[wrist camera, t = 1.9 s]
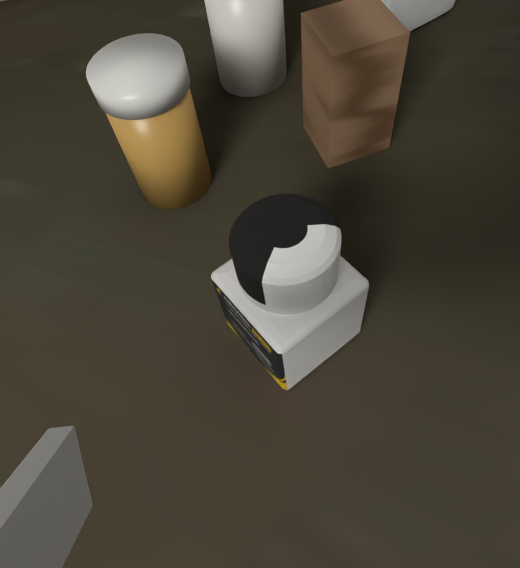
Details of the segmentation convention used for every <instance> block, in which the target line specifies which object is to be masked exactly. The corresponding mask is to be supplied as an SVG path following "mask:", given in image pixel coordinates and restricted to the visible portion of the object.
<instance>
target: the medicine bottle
mask: <svg viewBox="0 0 520 568" xmlns="http://www.w3.org/2000/svg"><path fill="white" fill-rule="evenodd" d="M229 249H230V252H231V256H232V259H231V260H229V261H228V262H226V263H225V264H224V265H222V266H221V267H219V268H218V269H216V270H215V271H213V273H212V275H211V278H212V281H213V284H214V287H215V290H216V293H217V295H218V298H219V301H220V304H221V307H222V310H223V312H224V315H225V318H226V321H227V323H228V325H229V326H230V327H231V328H232V330H233V331H234V332H235V333H236V334H237V335H238V337H239V338H240V339H241V340H242V341H243V342H244V344H245V345H246V346H247V347H248V348H249V350H250V351H251V352H252V353H253V354H254V355H255V357H256V358H257V359H258V360H259V361H260V362H261V364H262V365H263V366H264V367H265V368H266V370H267V371H268V372H269V373H270V374H271V375H272V377H273V378H274V379H275V380H276V381H277V382H278V384H279V385H280V386H281V387H282V388H283V389H284V390H289V389H290V388H292V387H293V386H294V385H295V384H296V383H298V382H299V381H300V380H301V379H303V378H304V377H305V376H306V375H308V374H309V373H310V372H311V371H312V370H314V369H315V368H316V367H317V366H319V365H320V364H321V363H322V362H324V361H325V360H326V359H327V358H328V357H330V356H331V355H332V354H333V353H335V352H336V351H337V350H338V349H340V348H341V347H342V346H343V345H344V344H346V343H347V342H348V341H349V340H351V339H352V338H353V337H354V336H356V335H357V334H358V333H359V332H360V329H361V324H362V318H363V313H364V308H365V303H366V298H367V293H368V288H369V282H368V280H367V279H366V278H365V277H364V276H362V275H361V274H360V273H359V272H358V271H357V270H356V269H355V268H354V267H352V266H351V265H350V264H349V263H348V262H347V261H346V260H345V259H344V258H342V257H341V256H340V250H341V230H340V227H339V224H338V222H337V220H336V218H335V216H334V215H333V214H332V212H331V211H330V210H329V209H328V208H326V207H325V206H324V205H322V204H321V203H319V202H317V201H316V200H313V199H311V198H308V197H305V196H302V195H296V194H278V195H272V196H269V197H266V198H263V199H261V200H259V201H257V202H255V203H253V204H252V205H250V206H249V207H247V208H246V209H245V210H244V211H243V212H242V213H241V214H240V215H239V216H238V217H237V219H236V220H235V222H234V224H233V226H232V228H231V231H230V235H229Z"/></svg>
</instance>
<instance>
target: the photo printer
mask: <svg viewBox="0 0 520 568" xmlns="http://www.w3.org/2000/svg"><path fill="white" fill-rule="evenodd" d="M381 1H382V2H383V3H384V4H385V5H386V7H387V8H388V9H389V10H390V11H391V12H392V13H393V14H394V15H395V16H396V17H397V18H398V20H399V21H400V22H401V23H402V24H403V25H404V26H405V27H406V28H407V29H408V30H409V31H412V30H414V29H416V28H418V27H419V26H421V25H423V24H425V23H427V22H429V21H431V20H433V19H435V18H437V17H438V16H440V15H442V14H444V13H445V12H447V11H449V10H450V9H451V8H452V7H453V6H454V3H455V1H456V0H381Z"/></svg>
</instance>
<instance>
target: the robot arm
mask: <svg viewBox="0 0 520 568" xmlns="http://www.w3.org/2000/svg"><path fill="white" fill-rule="evenodd" d="M92 506H93V505H92V501H91V496H90V492H89V488H88V483H87V479H86V475H85V470H84V466H83V462H82V457H81V453H80V449H79V444H78V440H77V436H76V431H75V427H74V426H67V427H58V428H49V429H48V430H47V431H46V432H45V434H44V435H43V436H42V437H41V439H40V440H39V441H38V442H37V444H36V445H35V446H34V447H33V449H32V450H31V451H30V452H29V453H28V455H27V456H26V457H25V458H24V460H23V461H22V462H21V463H20V465H19V466H18V467H17V468H16V470H15V471H14V472H13V473H12V475H11V476H10V477H9V478H8V480H7V481H6V482H5V483H4V484H3V486H2V487H1V488H0V568H62V567H63V565H64V563H65V560H66V558H67V556H68V554H69V552H70V550H71V548H72V546H73V544H74V542H75V540H76V538H77V536H78V534H79V532H80V530H81V528H82V526H83V524H84V522H85V520H86V518H87V516H88V514H89V512H90V510H91V508H92Z"/></svg>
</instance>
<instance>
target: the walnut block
mask: <svg viewBox="0 0 520 568" xmlns="http://www.w3.org/2000/svg"><path fill="white" fill-rule="evenodd" d="M409 37H410V31H409V30H408V29H407V28H406V27H405V26H404V25H403V24H402V23H401V22H400V21H399V20H398V18H397V17H396V16H395V15H394V14H393V13H392V12H391V11H390V10H389V9H388V8H387V7H386V5H385V4H384V3H383V2H382V1H381V0H343V1H340V2H336V3H333V4H330V5H326V6H323V7H320V8H316V9H313V10H310V11H306V12H303V13H301V40H302V84H303V127H304V128H305V130H306V132H307V133H308V135H309V137H310V138H311V140H312V142H313V143H314V145H315V147H316V149H317V150H318V152H319V154H320V155H321V157H322V159H323V160H324V162H325V164H326V165H327V167H328V168H331V167H334V166H337V165H340V164H343V163H346V162H349V161H352V160H355V159H358V158H361V157H364V156H367V155H370V154H373V153H376V152H379V151H382V150H385V149H389V147H390V142H391V136H392V131H393V125H394V120H395V114H396V109H397V103H398V97H399V92H400V86H401V81H402V75H403V70H404V64H405V59H406V53H407V48H408V42H409Z"/></svg>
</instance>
